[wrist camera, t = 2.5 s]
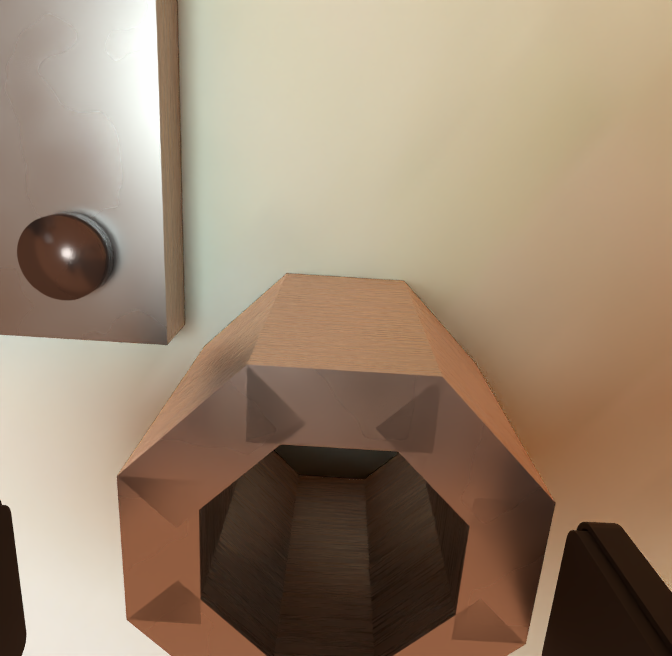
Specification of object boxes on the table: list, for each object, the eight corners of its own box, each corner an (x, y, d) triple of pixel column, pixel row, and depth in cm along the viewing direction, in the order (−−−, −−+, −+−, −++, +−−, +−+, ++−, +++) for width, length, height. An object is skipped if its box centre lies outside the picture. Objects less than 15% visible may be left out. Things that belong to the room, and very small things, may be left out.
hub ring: (486, 285, 14) (580, 385, 9) (451, 524, 16) (507, 729, 11) (203, 268, 14) (108, 355, 9) (206, 509, 16) (132, 707, 11)
